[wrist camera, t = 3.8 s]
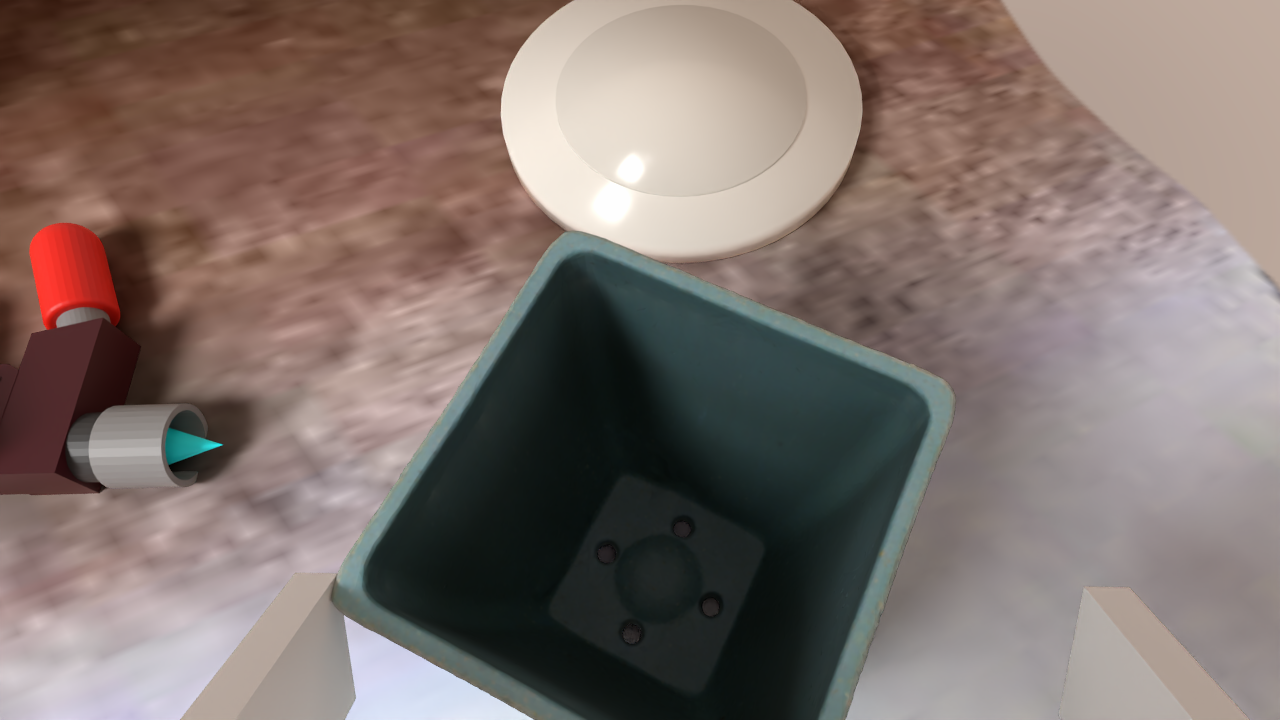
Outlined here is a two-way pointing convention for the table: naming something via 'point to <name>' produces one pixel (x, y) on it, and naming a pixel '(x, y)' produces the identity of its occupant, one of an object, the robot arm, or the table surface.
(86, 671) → the table surface
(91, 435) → the toy gun
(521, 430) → the flower pot
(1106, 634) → the robot arm
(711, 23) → the saucer
